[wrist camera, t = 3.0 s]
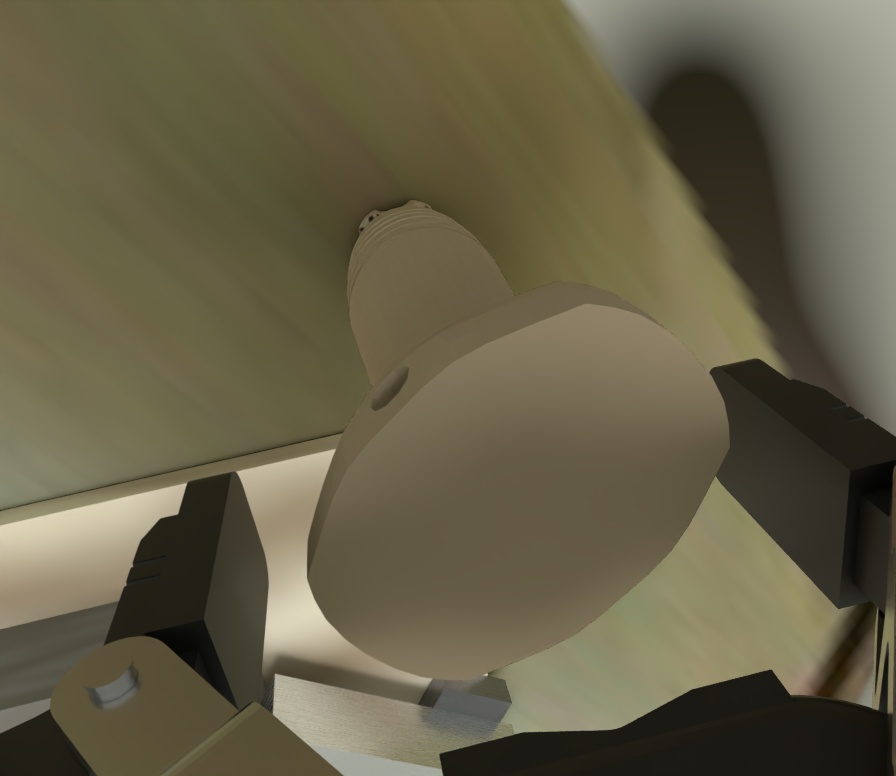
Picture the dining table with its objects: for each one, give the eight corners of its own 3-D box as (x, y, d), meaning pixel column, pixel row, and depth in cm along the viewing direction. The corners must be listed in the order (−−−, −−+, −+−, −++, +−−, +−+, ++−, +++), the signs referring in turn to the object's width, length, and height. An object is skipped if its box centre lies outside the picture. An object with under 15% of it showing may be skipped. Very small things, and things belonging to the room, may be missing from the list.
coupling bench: (-343, 589, 25) (-487, 710, 20) (434, 412, 27) (460, 487, 22) (-84, 910, 33) (-145, 1048, 28) (501, 754, 35) (530, 861, 30)
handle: (276, 272, 24) (236, 577, 10) (416, 115, 23) (577, 230, 9) (389, 364, 26) (479, 721, 12) (524, 224, 24) (787, 451, 11)
